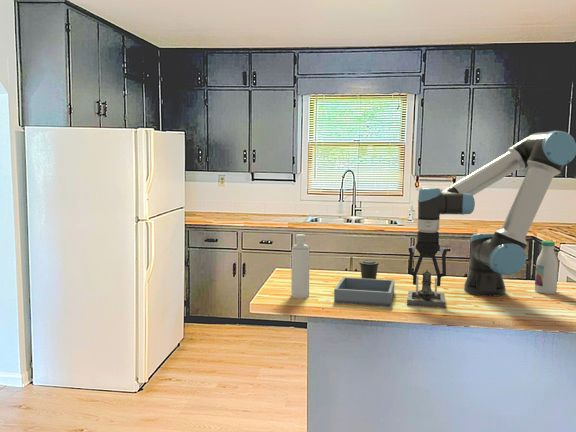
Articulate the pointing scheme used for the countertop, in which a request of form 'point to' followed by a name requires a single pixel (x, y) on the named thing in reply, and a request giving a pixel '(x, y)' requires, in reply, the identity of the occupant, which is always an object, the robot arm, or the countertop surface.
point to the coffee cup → (369, 269)
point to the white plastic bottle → (300, 268)
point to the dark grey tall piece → (426, 287)
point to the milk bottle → (546, 269)
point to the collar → (426, 302)
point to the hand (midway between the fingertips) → (426, 294)
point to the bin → (364, 291)
